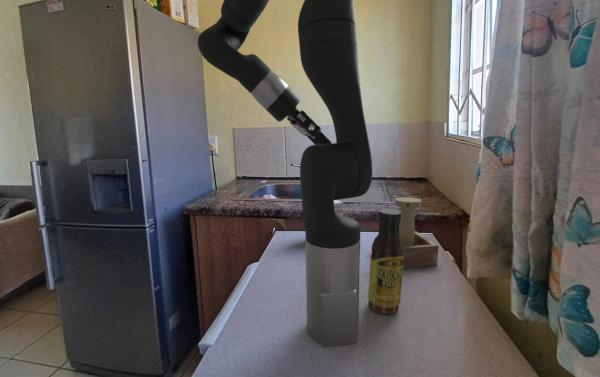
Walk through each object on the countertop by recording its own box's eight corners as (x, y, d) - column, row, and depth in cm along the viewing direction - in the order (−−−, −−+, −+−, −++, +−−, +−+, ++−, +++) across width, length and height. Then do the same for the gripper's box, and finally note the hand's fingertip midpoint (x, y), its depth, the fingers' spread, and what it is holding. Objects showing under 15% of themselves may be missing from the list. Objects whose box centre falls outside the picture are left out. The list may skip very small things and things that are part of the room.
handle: (418, 259, 88) (421, 202, 85) (392, 256, 91) (394, 201, 87) (418, 252, 93) (421, 198, 90) (393, 249, 95) (396, 196, 92)
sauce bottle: (375, 318, 65) (378, 217, 61) (362, 301, 71) (365, 208, 67) (407, 313, 66) (412, 214, 62) (392, 297, 72) (396, 206, 68)
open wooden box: (437, 264, 88) (438, 245, 87) (395, 268, 86) (395, 249, 85) (415, 247, 99) (416, 231, 98) (377, 250, 97) (378, 234, 96)
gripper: (291, 81, 72) (343, 135, 76) (283, 87, 86) (327, 132, 90) (266, 107, 72) (320, 159, 77) (262, 109, 86) (308, 153, 90)
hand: (324, 144), depth 83 cm, fingers open, 8 cm apart
